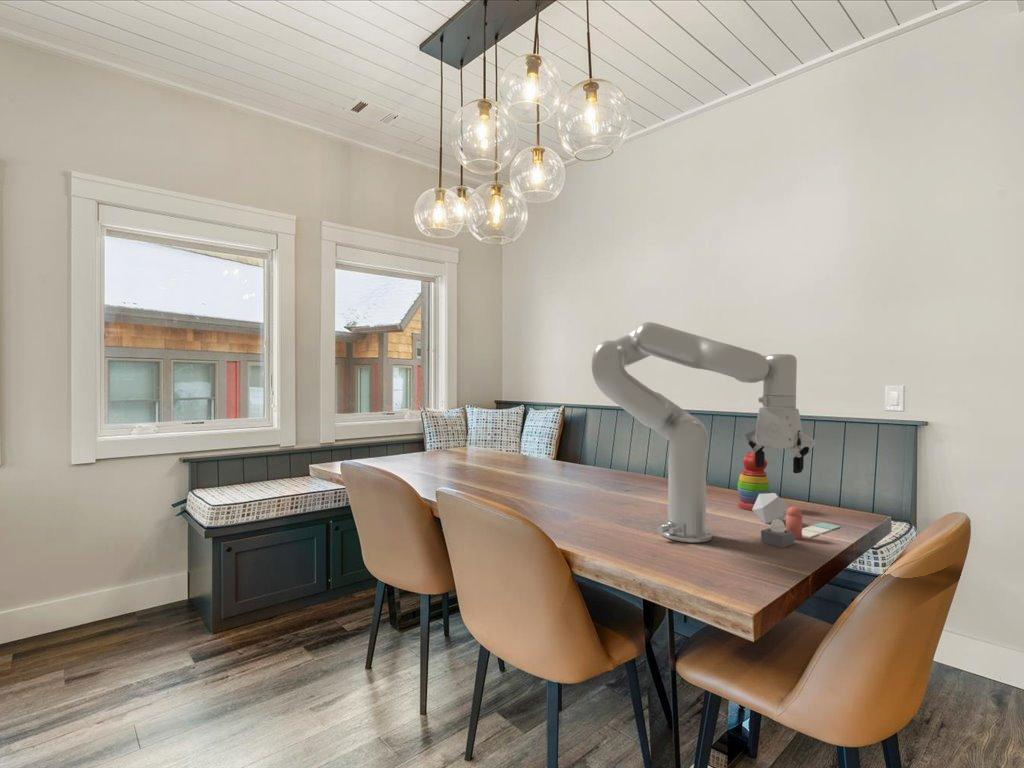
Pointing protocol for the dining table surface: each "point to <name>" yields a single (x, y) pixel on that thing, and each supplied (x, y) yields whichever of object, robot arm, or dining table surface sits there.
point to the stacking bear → (751, 482)
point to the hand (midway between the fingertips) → (778, 469)
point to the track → (813, 531)
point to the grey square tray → (777, 538)
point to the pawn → (794, 522)
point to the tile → (826, 526)
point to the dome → (777, 526)
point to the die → (770, 507)
